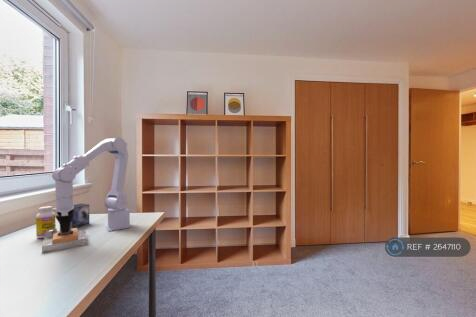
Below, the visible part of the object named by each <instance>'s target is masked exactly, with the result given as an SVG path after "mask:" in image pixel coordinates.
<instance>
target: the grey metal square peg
mask: <svg viewBox="0 0 476 317" xmlns="http://www.w3.org/2000/svg"><path fill="white" fill-rule="evenodd" d="M59 231H60V236H62V235H68V234H71V223H70V228H69V232H66V233H62V231H61V228H60V227H59Z"/></svg>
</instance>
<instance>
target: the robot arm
mask: <svg viewBox="0 0 476 317" xmlns="http://www.w3.org/2000/svg"><path fill="white" fill-rule="evenodd" d="M127 146H128V143H127V142H126V141H125V139H123V137H112V138H111V137H110V138H109V137H107V138H105V139H103V140H102V141H99V143H98V144H96V145H95V146H94V147H93V148H91V149H90V150H89V151H87V152H86V153H84V154H83V155H82V154H81V155H80V154H79V155H74V156H73V157H72V159H71V160H70V161H68V162H67V163H63V164H62V167H58V168H56V169H54V171H53V172H52V174H51V177H52V179H53V180H54V181H55V182H54V183H55V207H54V208H53V207H52V212H54V211H55V212H56V215H55V220H56V221H58V223H59V229H60V228H61V231H62V233H66V232H69V228H70V223H71V219H72V217H73V215H74V214H72V212H73V209H74V206H73V205H74V184H73V180H75V178H76V175H78V174H79V173H81V172H82V171H83V170H84V169H86V168H87V167H89V165H90V162H91V161H92V160H94V159H96V158H97V157H98V156H100V155H101V154H103V153H104V152H108V153H110V154H111V155H112V156H113V157H114V158H115V160H114V168H113V174H112V183H111V187H110V191H108V192H107V196H106V197H105V199H104V206H105V207H106V209H107V225H106V229H107V231H108V232H112V231H118V230H124V229H128V228H129V229H130V228H131V222H130V220H131V218H130V209H129V208H126V207H127V205H128V199H127V193H126V192H125V190H124V189H125V183H126V177H127V176H126V175H127V170H128V169H127V168H128V163H129V162H128V161H129V152H128V150H127V149H128V148H127Z"/></svg>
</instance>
